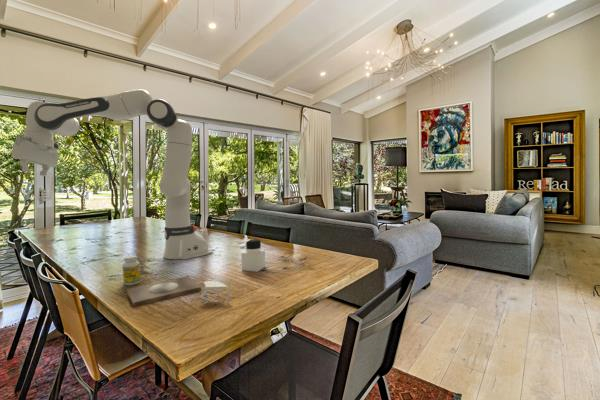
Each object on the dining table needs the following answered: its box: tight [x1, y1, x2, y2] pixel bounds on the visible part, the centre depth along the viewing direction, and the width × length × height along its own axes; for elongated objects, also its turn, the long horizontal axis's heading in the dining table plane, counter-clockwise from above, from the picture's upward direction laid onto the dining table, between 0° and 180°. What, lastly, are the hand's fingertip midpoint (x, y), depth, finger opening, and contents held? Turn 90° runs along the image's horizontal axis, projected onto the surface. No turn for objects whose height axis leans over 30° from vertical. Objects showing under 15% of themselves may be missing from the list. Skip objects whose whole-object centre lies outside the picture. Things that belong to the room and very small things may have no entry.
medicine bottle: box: [241, 238, 266, 273], centre depth 124 cm, size 7×7×12 cm
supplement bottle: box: [122, 255, 142, 286], centre depth 109 cm, size 5×5×10 cm
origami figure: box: [198, 280, 232, 305], centre depth 93 cm, size 12×8×5 cm
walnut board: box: [125, 275, 202, 307], centre depth 101 cm, size 20×14×1 cm
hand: (34, 173), depth 126 cm, fingers open, 8 cm apart
